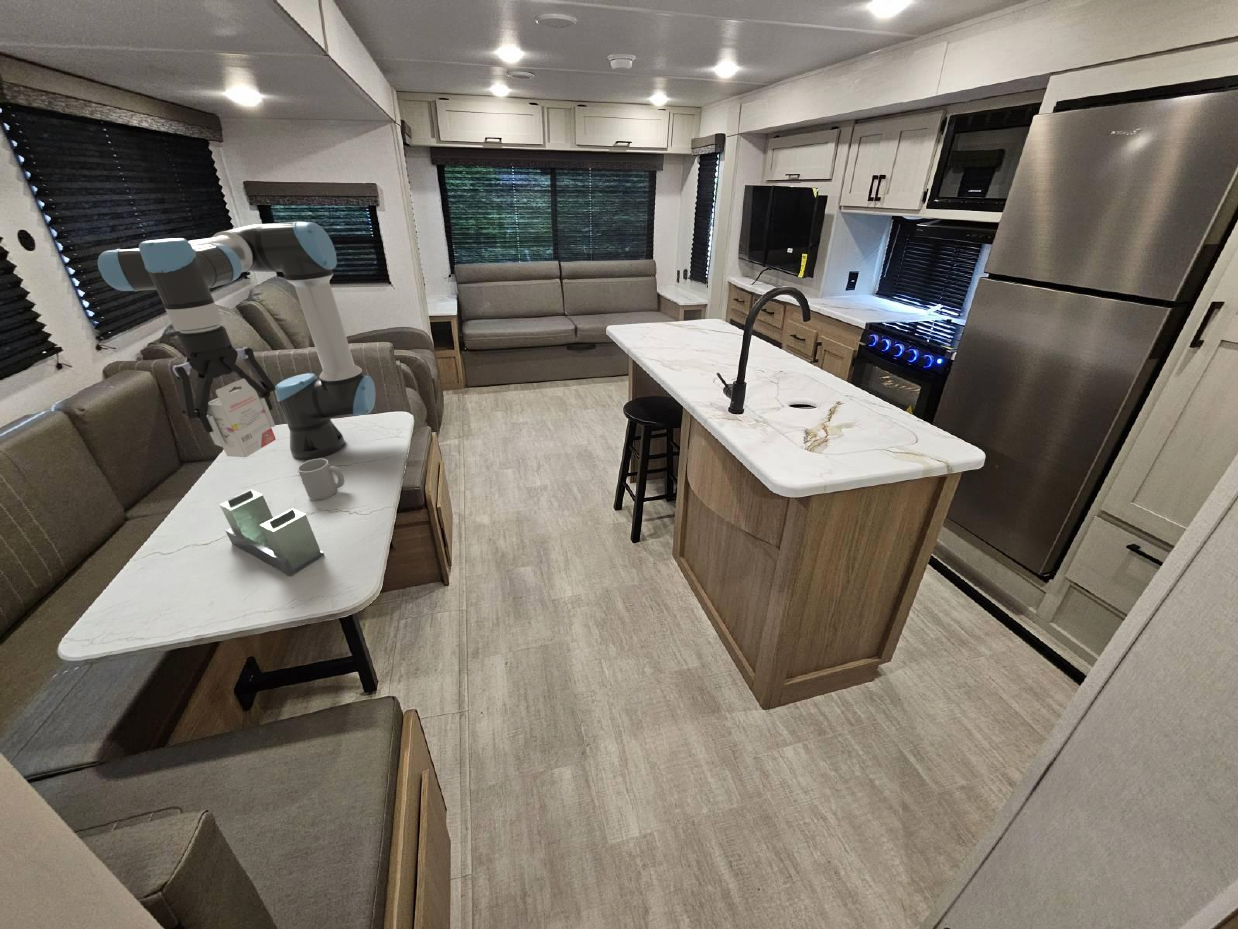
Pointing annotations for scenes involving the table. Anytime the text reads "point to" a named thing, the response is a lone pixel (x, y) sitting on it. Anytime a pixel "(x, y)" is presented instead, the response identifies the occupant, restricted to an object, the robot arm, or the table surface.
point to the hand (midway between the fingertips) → (246, 434)
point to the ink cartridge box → (240, 419)
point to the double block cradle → (271, 533)
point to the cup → (320, 478)
